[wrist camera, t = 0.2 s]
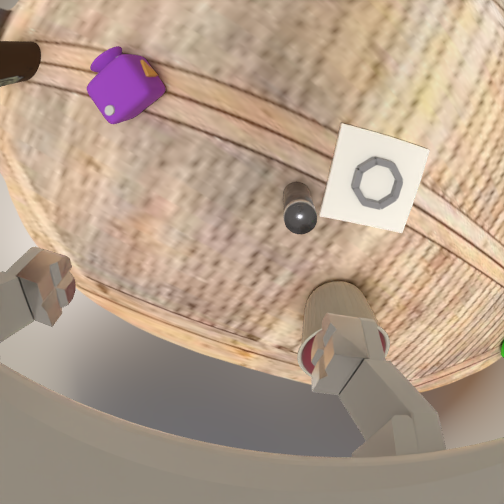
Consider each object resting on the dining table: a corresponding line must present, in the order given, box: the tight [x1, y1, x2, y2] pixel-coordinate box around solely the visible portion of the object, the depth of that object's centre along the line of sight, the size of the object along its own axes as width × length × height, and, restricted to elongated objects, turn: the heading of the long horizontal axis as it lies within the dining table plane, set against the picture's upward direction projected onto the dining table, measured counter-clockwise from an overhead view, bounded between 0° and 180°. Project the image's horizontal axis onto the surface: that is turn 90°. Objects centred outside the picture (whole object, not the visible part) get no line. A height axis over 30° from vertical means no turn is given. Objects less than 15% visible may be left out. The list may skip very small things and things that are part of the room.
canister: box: [298, 281, 390, 377], centre depth 59 cm, size 18×18×21 cm
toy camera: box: [87, 46, 165, 124], centre depth 42 cm, size 11×14×10 cm
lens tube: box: [283, 182, 317, 234], centre depth 52 cm, size 5×5×11 cm
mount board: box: [319, 123, 429, 233], centre depth 52 cm, size 18×18×2 cm
